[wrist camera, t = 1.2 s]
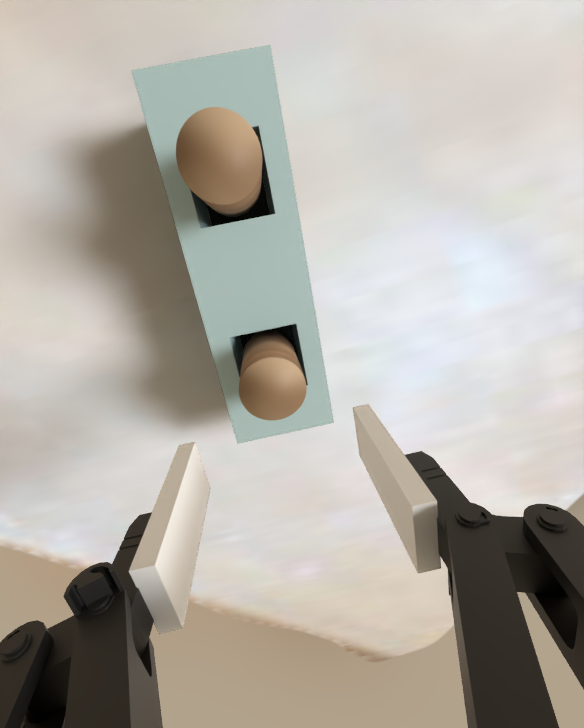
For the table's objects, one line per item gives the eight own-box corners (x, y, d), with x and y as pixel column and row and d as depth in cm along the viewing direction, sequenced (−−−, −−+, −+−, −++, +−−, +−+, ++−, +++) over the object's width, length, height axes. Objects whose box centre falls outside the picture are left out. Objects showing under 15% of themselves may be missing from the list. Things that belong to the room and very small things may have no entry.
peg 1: (192, 155, 25) (164, 116, 17) (253, 143, 25) (251, 99, 18) (209, 222, 27) (189, 211, 19) (266, 210, 27) (270, 195, 19)
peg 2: (238, 336, 30) (231, 366, 22) (289, 325, 30) (300, 351, 22) (249, 383, 31) (247, 426, 24) (298, 373, 31) (311, 412, 24)
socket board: (164, 116, 29) (131, 70, 22) (267, 97, 29) (270, 44, 22) (241, 405, 38) (237, 443, 31) (318, 388, 39) (333, 422, 31)
